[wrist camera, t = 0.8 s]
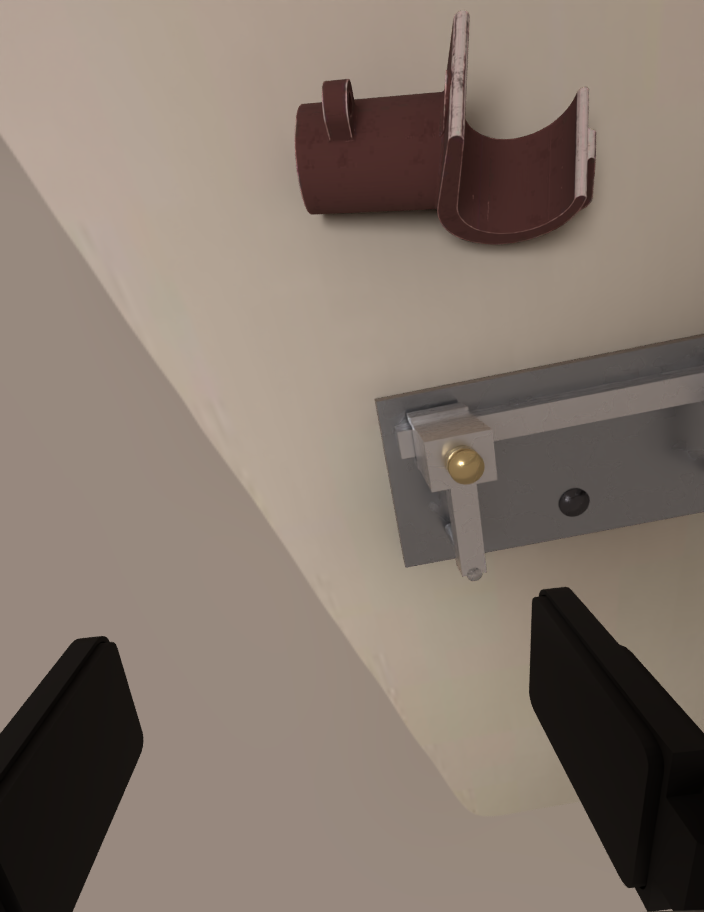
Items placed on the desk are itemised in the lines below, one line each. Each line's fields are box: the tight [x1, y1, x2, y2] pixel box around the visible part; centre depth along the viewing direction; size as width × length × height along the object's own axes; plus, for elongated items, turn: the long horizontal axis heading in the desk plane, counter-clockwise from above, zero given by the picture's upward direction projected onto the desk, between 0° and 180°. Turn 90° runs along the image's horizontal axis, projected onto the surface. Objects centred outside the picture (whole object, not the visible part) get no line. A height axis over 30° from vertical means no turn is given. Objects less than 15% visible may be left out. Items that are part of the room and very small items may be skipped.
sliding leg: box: [407, 402, 497, 581], centre depth 31 cm, size 4×10×8 cm, turn 11°
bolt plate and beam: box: [375, 334, 704, 567], centre depth 32 cm, size 30×14×8 cm, turn 101°
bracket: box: [295, 10, 596, 244], centre depth 26 cm, size 6×17×10 cm, turn 90°
